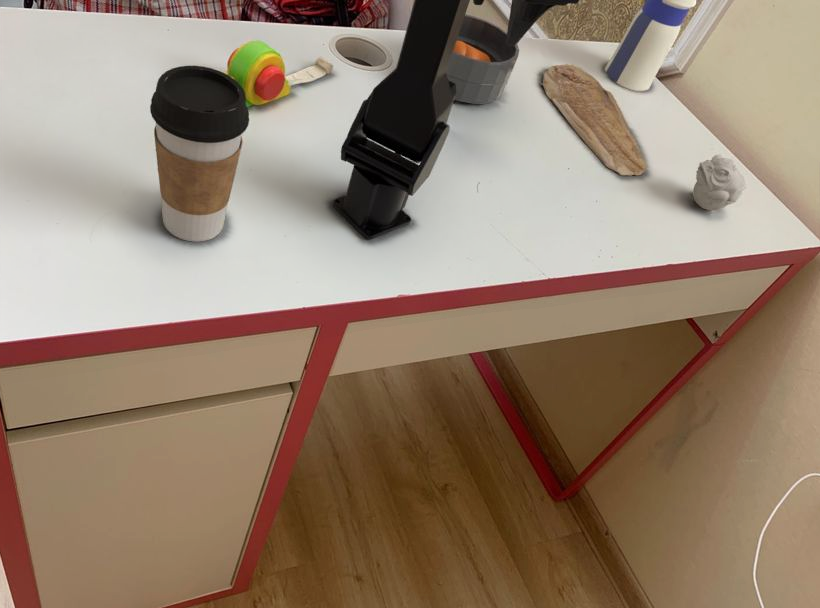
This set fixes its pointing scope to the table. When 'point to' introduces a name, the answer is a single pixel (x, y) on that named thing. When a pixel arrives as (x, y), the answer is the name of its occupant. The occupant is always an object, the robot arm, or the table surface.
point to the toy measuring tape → (268, 72)
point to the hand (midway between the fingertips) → (493, 24)
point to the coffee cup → (197, 147)
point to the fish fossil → (594, 117)
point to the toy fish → (470, 52)
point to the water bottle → (647, 43)
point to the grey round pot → (482, 62)
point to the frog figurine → (717, 183)
